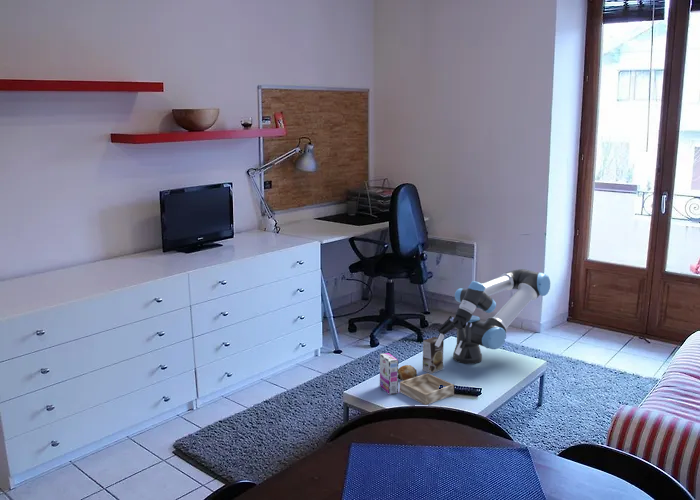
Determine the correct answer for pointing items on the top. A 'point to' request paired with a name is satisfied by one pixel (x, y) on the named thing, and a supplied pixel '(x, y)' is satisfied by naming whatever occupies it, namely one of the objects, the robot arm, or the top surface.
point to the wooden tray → (426, 388)
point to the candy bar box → (389, 373)
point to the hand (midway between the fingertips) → (446, 350)
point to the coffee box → (432, 355)
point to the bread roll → (406, 372)
